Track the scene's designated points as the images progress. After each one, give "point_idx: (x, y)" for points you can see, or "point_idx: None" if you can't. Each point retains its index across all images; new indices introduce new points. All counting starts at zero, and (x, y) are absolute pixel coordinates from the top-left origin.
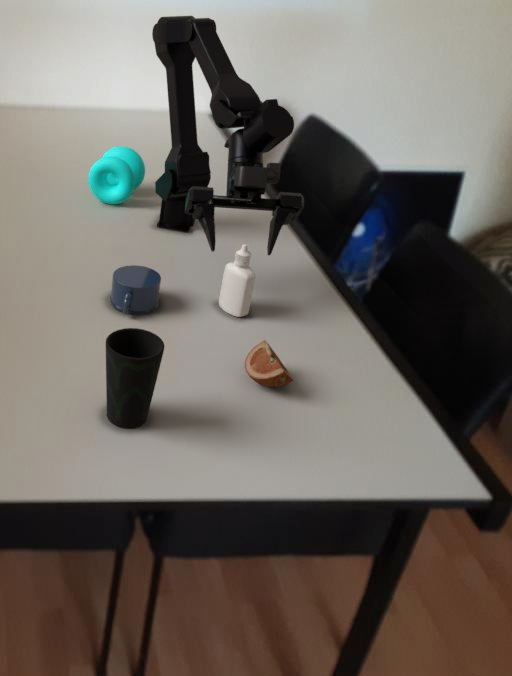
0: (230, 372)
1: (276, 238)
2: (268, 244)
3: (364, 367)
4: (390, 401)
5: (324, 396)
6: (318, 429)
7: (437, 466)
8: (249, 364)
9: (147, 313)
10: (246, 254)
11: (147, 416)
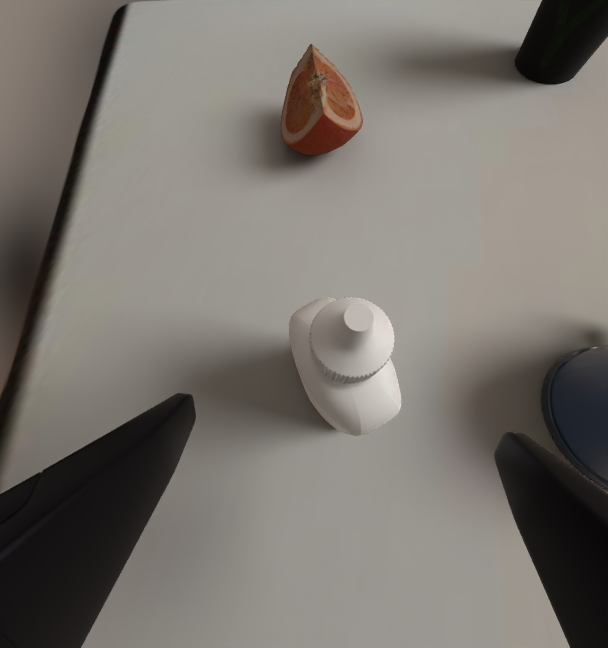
0: (376, 160)
1: (90, 444)
2: (161, 465)
3: (130, 186)
4: (140, 115)
5: (236, 118)
6: (273, 63)
7: (157, 27)
8: (356, 114)
9: (566, 355)
10: (342, 304)
11: (519, 51)
